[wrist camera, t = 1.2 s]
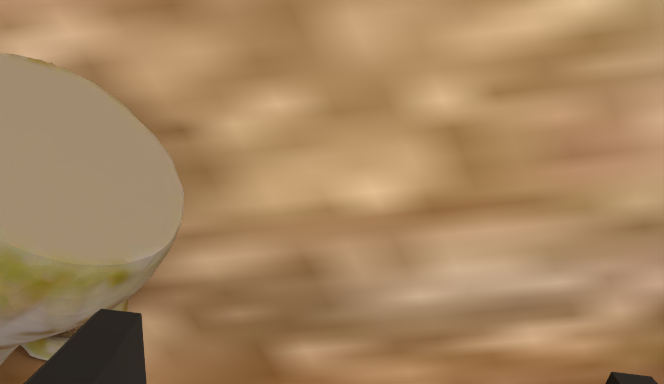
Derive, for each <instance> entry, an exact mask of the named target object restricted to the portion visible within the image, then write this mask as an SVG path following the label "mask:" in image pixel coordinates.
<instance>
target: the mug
mask: <svg viewBox="0 0 664 384" xmlns="http://www.w3.org/2000/svg"><path fill="white" fill-rule="evenodd" d="M183 204H184V190H183V188H182V185H181V183H180V181H179V178H178V175H177V172H176V169H175V165H174V162H173V160H172V158H171V156H170V154H169V153H168V151H167V150H166V149H165V148H164V147H163V146H162V144H161V143H160V142H159V141H158V140H157V138H156V136H155V135H154V134H153V133H151V132H150V131H149V130H148V129H147V128H146V127H145V126H144V125H143V124H142V123H141V122H140V121H139V120H138V119H137V118H136V117H135V116H134V115H133V114H132V112H131V111H130V110H129V109H128V108H127V107H126V106H125V105H124V104H123V103H121V102H120V101H119V100H118V99H116V98H115V97H114V96H112V95H111V94H110V93H108V92H107V91H105V90H104V89H103V88H101V87H100V86H98V85H97V84H95V83H93V82H92V81H89V80H87V79H85V78H83V77H81V76H79V75H77V74H75V73H73V72H71V71H69V70H67V69H65V68H61V67H57V66H55V65H54V64H53V63H46V62H44V61H41V60H36V59H31V58H27V57H23V56H18V55H13V54H0V365H1V364H2V363H3V362H4V361H5V359H6V358H7V357H8V356H9V355H10V354H11V352H12V351H13V350H15V349H16V348H17V347H18V346H20V345H21V346H22V347H23V348H24V349H25V350H26V351H27V352H28V354H29V355H30V356H32V357H35V358H38V359H42V360H47V361H48V360H49V359H50V358H51V357H52V356H53V355H54V354H55V353H56V352H57V351H58V350H59V349H60V348H61V347H62V346H63V345H64V344H65V343H66V342H67V341H68V340H69V339H70V338H66V337H56V336H53V335H57V334H59V333H62V332H65V331H68V330H70V329H73V328H75V327H78V326H80V325H83V324H85V323H86V322H87V321H88V320H89V318H90V317H91V316H92V315H93V314H94V313H96V312H97V311H99V310H100V309H109V310H117V311H125V312H127V304H128V298H129V297H130V296H131V295H133V294H134V293H135V292H136V291H137V290H138V289H139V288H140V287H141V286H142V285H143V284H144V283H145V282H146V281H147V280H148V279H149V278H150V277H151V276H152V274H153V273H154V272H155V270H156V269H157V267H158V266H159V264H160V263H161V262H162V260H163V259H164V257H165V256H166V254H167V252H168V251H169V249H170V248H171V246H172V244H173V242H174V240H175V237H176V234H177V232H178V229H179V227H180V224H181V220H182V216H183Z"/></svg>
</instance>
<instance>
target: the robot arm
mask: <svg viewBox="0 0 664 384" xmlns="http://www.w3.org/2000/svg"><path fill="white" fill-rule="evenodd" d="M24 384H146V371H145V358H144V344H143V331H142V317H141V313H133V312H125V311H117V310H109V309H100V310H99V311H97V312H96V313H94V314H93V315H92V316H91V317H90V318H89V320H88V321H87V322H86V323H85V324H84V325H83V326H82V327H81V328H80V329H79V330H78V331H77V332H76V333H75V334H74V335H73V336H72V337H71V338H70V339H69V340H68V341H67V342H66V343H65V344H64V345H63V346H62V347H61V348H60V349H59V350H58V351H57V352H56V353H55V354H54V355H53V356H52V357H51V358H50V359H49V360H48V361H47V362H46V363H45V364H44V365H42V366H41V367H40V368H39V369H38V370H37V371H36V372H35V373H34V374H33V375H32V376H31V377H30V378H29V379H28V380H27V381H26V382H25V383H24ZM606 384H658V383H657V382H656V381H655V380H654V379H653V378H652V377H649V376H641V375H633V374H625V373H617V372H611V374H610V376H609V378H608V380H607V382H606Z"/></svg>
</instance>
